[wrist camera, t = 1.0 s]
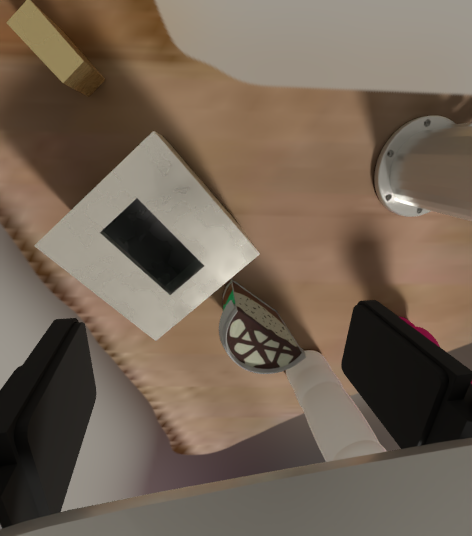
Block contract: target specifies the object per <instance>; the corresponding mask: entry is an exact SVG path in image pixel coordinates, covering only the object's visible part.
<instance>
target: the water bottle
mask: <svg viewBox="0 0 472 536" xmlns="http://www.w3.org/2000/svg"><path fill="white" fill-rule="evenodd" d="M304 352H305V354H306V355H305V356H306V358H305V359H304V360H302V361H301V362H300V363H298V364H297V365H295V366H293V367H292V368H290V369H287V370H286V375H287V378H288V380H289V382H290V384H291V386H292V388H293V389H294V391H295V395H296V398H297V400H298V402H299V404H300V405H301V407H302V408H303V410H304V413H305V416H306V419H307V421H308V424H309V426H310V429H311V431H312V433H313V436H314V438H315V440H316V442H317V444H318V447H319V449H320V451H321V453H322V455H323V457H324V459H325V461H326V462H329V461H335V460H340V459H346V458H352V457H357V456H363V455H369V454H375V453H381V452H387V451H386V449H385V448H384V447H383V446H381V445H380V443H379V441H378V440H377V438H376V436H375V434H374V432H373V431H372V429H371V427H370V426H369V424H368V423H367V421H366V419H365V418H364V416H363V415H362V413H361V412H360V410H359V409H358V407H357V406H356V404H355V403H354V402H353V400H352V399H351V397H350V396H349V395H348V393H347V392H346V391H345V390H344V389H343V386H342V384H341V382H340V380H339V379H338V377H337V376H336V374H335V373H334V372H333V371H332V370H331V367H330V365H329V364H328V362H327V360H326V359H325V357H324V356H323V355H322V354H321V353H319V352H317V351H314V350H306V351H304Z"/></svg>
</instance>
